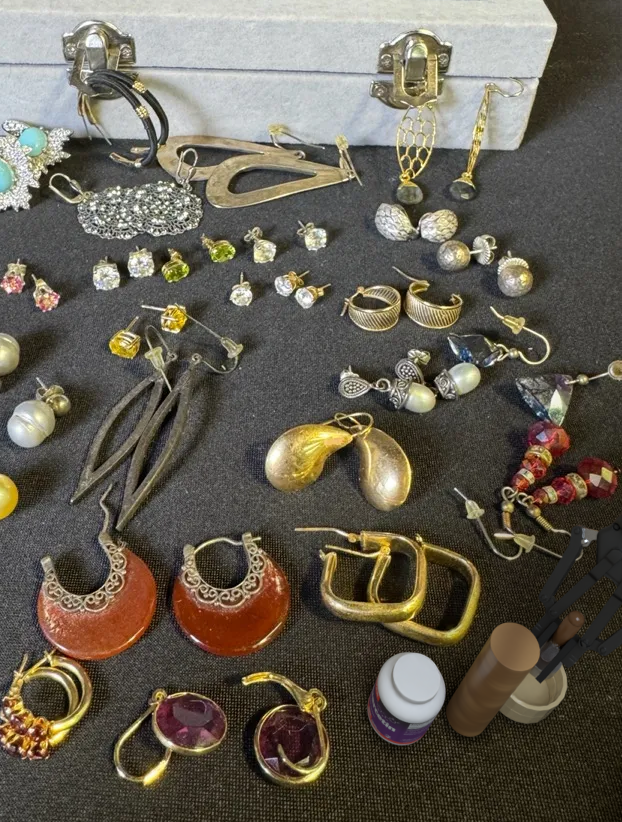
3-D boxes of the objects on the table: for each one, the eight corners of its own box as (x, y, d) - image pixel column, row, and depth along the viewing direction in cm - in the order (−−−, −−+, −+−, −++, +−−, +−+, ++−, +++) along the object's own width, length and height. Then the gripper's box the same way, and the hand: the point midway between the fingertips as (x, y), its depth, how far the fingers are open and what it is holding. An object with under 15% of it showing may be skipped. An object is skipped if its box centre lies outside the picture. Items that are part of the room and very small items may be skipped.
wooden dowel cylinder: (492, 707, 105) (546, 637, 87) (479, 744, 102) (531, 680, 84) (454, 686, 107) (499, 613, 88) (440, 723, 104) (483, 655, 85)
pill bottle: (356, 693, 106) (370, 652, 95) (412, 674, 108) (432, 632, 97) (381, 757, 101) (399, 722, 90) (439, 736, 102) (463, 699, 92)
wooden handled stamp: (560, 657, 100) (601, 609, 88) (551, 686, 97) (592, 640, 86) (528, 641, 101) (565, 591, 90) (519, 669, 99) (555, 622, 87)
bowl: (560, 678, 107) (574, 661, 103) (542, 738, 102) (556, 723, 98) (498, 645, 110) (509, 628, 106) (477, 702, 105) (488, 687, 101)
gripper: (732, 562, 88) (591, 713, 93) (613, 472, 95) (490, 617, 101) (730, 570, 81) (579, 731, 87) (603, 473, 89) (472, 627, 94)
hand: (531, 669), depth 94 cm, fingers closed on wooden handled stamp, 2 cm apart
